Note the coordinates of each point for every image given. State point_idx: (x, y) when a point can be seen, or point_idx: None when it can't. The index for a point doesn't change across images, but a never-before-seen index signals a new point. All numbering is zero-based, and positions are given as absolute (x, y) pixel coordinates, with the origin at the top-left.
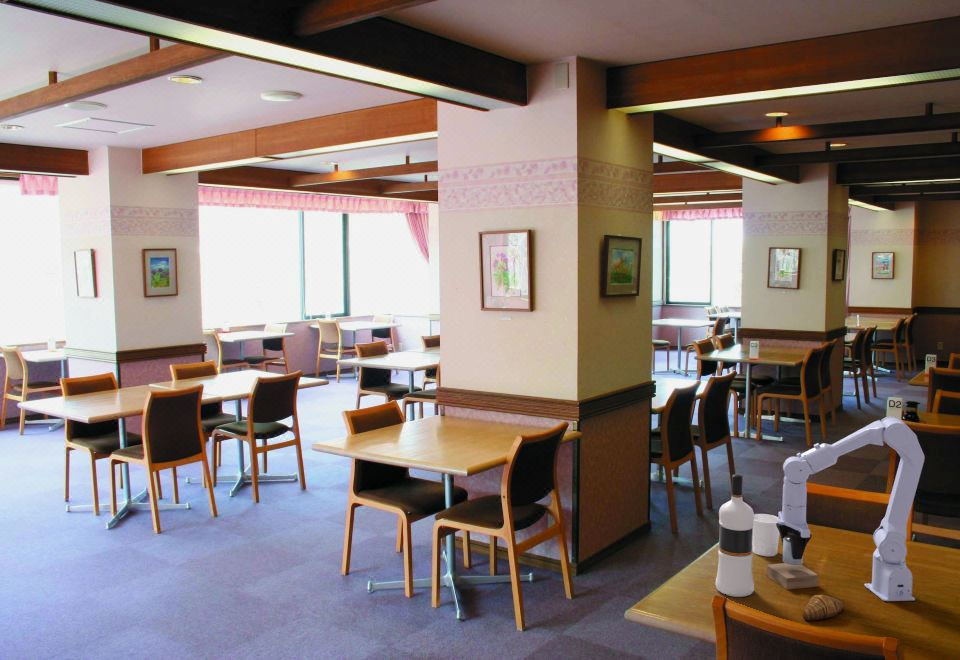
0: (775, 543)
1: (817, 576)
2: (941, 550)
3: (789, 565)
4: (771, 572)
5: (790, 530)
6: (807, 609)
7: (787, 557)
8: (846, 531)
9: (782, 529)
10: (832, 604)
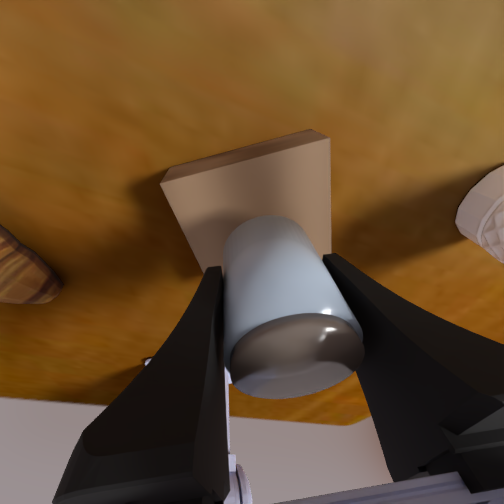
0: (493, 246)
1: None
2: (349, 421)
3: None
4: (281, 144)
5: (390, 400)
6: None
7: (242, 244)
8: None
9: (427, 377)
10: None
